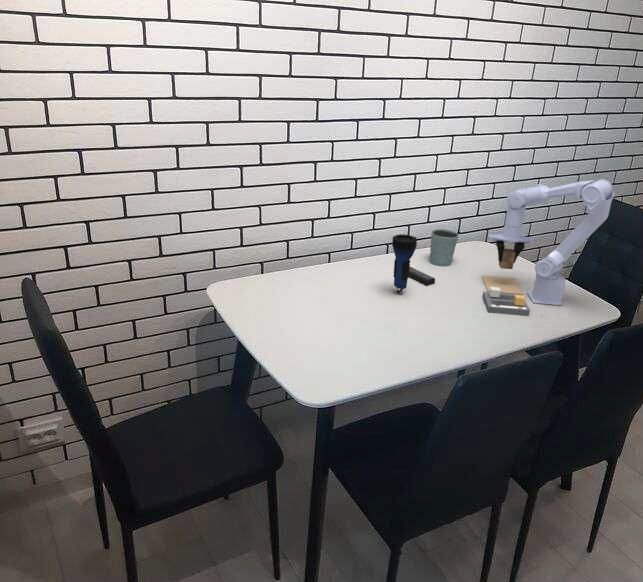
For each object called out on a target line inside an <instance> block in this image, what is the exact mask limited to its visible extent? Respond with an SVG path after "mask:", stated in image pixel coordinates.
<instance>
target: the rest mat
mask: <svg viewBox="0 0 643 582" xmlns="http://www.w3.org/2000/svg"><path fill="white" fill-rule="evenodd" d="M481 279H482V281H483V284H484V286H485V289H486V292H489V290H490V287H499V288H500V290H501V291H500V293H507V294H519V295H524V292H523V291H522V288H521V287H520V285H519V283H518V281H517V279H516V278H515V277H506V276H505V277H504V276H503V277H502V276H491V275H481Z"/></svg>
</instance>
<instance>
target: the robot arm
mask: <svg viewBox="0 0 643 582" xmlns="http://www.w3.org/2000/svg"><path fill="white" fill-rule="evenodd" d="M566 196H575V197H576V198H577V199H578V200H579V199H582V201H583V203H584V205H585V207H586V209H587V216H586V217H585V218H583V220H582V221H581V222H580V223H579V224H578V225H577V226H575V228H574V229H573V230H572V231H571V232H570V233H569V234H568V235H567V236H566V237H565V238H564V240H563V241H562V242H561V243H560V244H559V245H558V246H557V247H556V248H555V249H554V250H552V251H551V253H549V254H548V255H547V256H546V257H544V258H542V259H540V260H538V261H537V262H536V263H535V266H534V270H535V278H534V282H533V288H532V291H529V292H527V294H528V297H529V299H530V300H531V301H532V303H533V304H542V305H555V306H556V305H557V306H562V300H563V298H564V294H565V289H566V278H565V277H564V276H563V275H560V271H561V270H563V268H564V267H565V262H566V261H568V260H569V257H570V256H571V255H572V254H573V253H574V252H575V251H576V250H577V249H578V248H579V247H580V246H581V245H582V244H583V243H584V242H585V241H587V239H588V238H589V237H590V236H591V235H592V234H593V233H594V232H595V231H596V230H597V229H598V228H599V227H600V226H602V224H604V222H606V220H607V219H608V217H609V214H610V210H611V206H612V205H611V204H612V201H613V198H615V193H614V187H613V185H612V183H611V182H610V181H609V180H607V179H603V178H602V179H598V180H596V181H595V180H592V179H591V180H583V181H576V182H572V183H568V184H564V185H558V186H553V187H549V186H547V185H545V184H544V185H543V184H541V183H539V184H535V186H533V187H528V188H527V187H522V188H521V189H519V188H518V189H517V190H514V191H512V192H510V193H509V194H508V195H507V196H506V204H507V211H506V215H505V222H504V226H503V231H502V232H503V233H501V234H499V233H498V234H489V235H488V241H489V242H495V244H496V249H497V255H498V257H497V258H498V259H497V261H498V263H499V262H501V261H502V255H503V251H504V249H505V247H506V246H505V243H513V250H514V252H515V258H514V263H513V264H515V263H516V260H517V259H518V257H519V255H520V254H521V252H522V251H523V250H524V249H525V247H526V246H525V244H528V245H531V246H532V245H533V243H534V239H533V237H528V236H523V235H521V233H522V230H523V229H522V228H523V224H524V218H525V214H526V207H527V206H528V207H529V206H534V205H540V204H545V203H549V201H550V199H553V198H561V197H566Z"/></svg>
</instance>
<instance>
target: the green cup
mask: <svg viewBox="0 0 643 582" xmlns="http://www.w3.org/2000/svg"><path fill="white" fill-rule="evenodd" d="M430 233H431V235H430V237H431V239H430V253H429V263H430V264H432V265H434V266H438V267H449V266H451V265H452V262H453V258H454V254H455V250H456V247H457V242H458V240H459V233H458V232H456V231H453V230H449V229H445V228H437V229H433V230H432V231H431V232H430Z"/></svg>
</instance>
